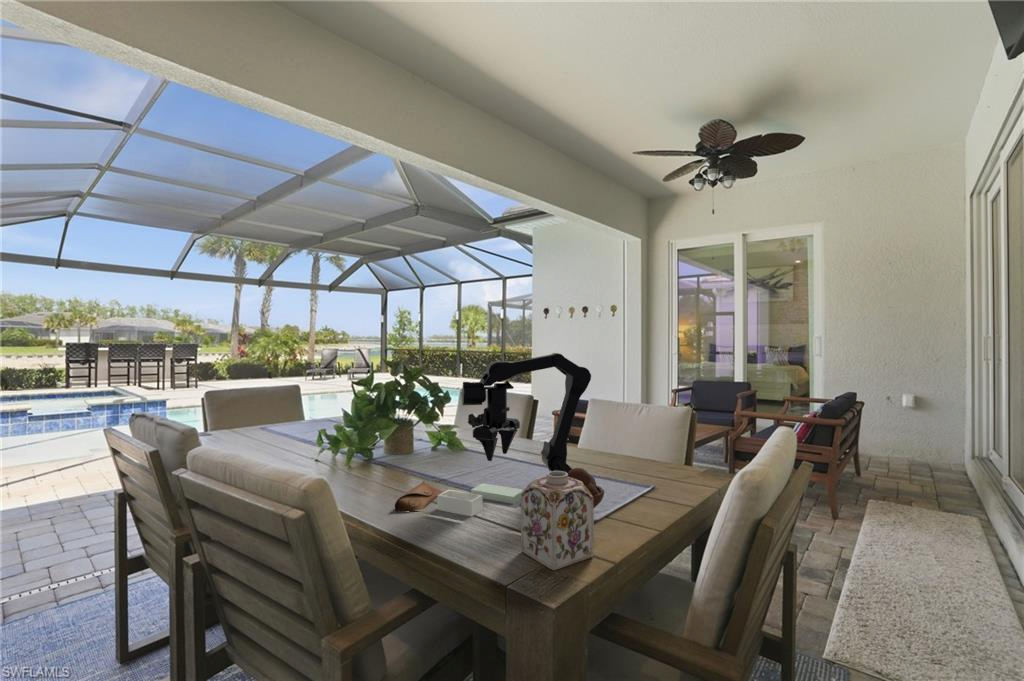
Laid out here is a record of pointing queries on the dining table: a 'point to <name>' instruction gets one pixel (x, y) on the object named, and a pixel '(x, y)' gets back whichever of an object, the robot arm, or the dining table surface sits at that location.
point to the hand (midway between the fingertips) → (497, 457)
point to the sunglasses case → (417, 498)
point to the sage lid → (498, 493)
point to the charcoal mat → (503, 503)
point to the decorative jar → (557, 520)
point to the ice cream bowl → (588, 484)
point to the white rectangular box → (460, 502)
